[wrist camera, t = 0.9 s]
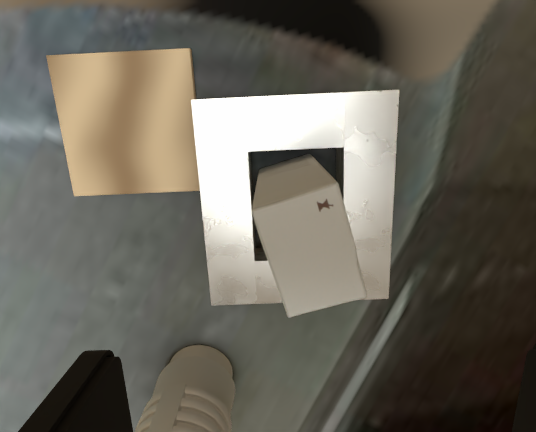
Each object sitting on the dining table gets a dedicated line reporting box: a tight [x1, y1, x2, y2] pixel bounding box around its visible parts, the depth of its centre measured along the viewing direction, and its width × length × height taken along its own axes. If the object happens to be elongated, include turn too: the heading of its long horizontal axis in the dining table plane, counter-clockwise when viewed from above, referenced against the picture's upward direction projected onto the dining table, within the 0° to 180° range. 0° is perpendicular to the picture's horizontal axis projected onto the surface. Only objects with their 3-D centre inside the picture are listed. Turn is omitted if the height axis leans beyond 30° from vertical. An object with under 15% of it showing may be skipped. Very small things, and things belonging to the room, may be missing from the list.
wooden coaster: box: [46, 48, 200, 196], centre depth 26 cm, size 10×10×1 cm
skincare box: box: [252, 154, 367, 317], centre depth 22 cm, size 6×4×12 cm
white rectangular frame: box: [191, 90, 399, 305], centre depth 26 cm, size 14×15×3 cm
